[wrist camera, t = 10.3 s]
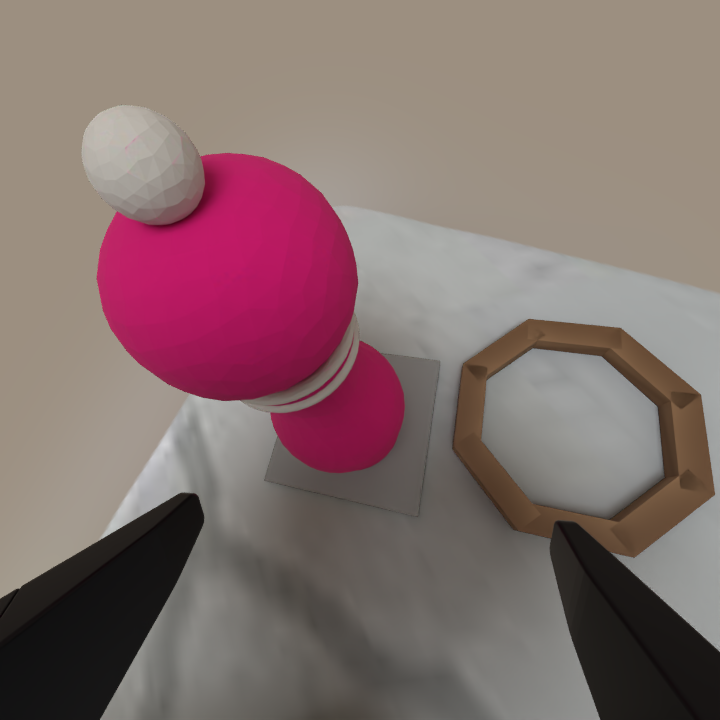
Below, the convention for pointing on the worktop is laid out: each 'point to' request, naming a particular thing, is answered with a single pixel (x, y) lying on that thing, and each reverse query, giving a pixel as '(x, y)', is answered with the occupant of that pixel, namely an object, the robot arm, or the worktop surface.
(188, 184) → the pepper mill
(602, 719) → the robot arm
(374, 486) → the slate mat
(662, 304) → the worktop surface
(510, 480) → the walnut holder ring
